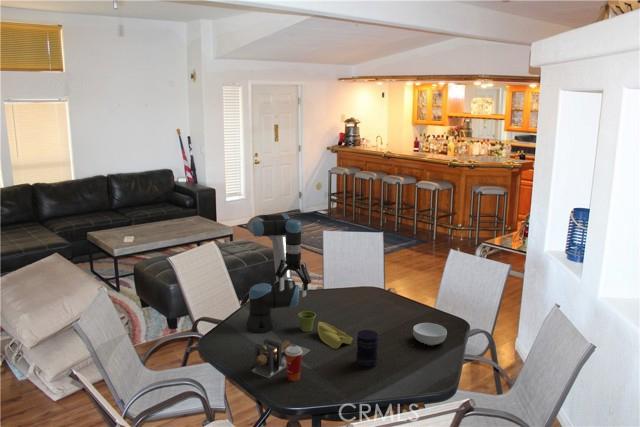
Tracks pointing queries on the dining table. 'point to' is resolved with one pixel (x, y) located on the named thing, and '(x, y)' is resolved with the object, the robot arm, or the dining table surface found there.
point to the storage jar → (367, 349)
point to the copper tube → (264, 357)
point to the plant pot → (306, 320)
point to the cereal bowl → (429, 333)
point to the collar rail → (273, 364)
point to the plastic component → (332, 335)
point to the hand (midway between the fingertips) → (292, 293)
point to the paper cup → (293, 362)
